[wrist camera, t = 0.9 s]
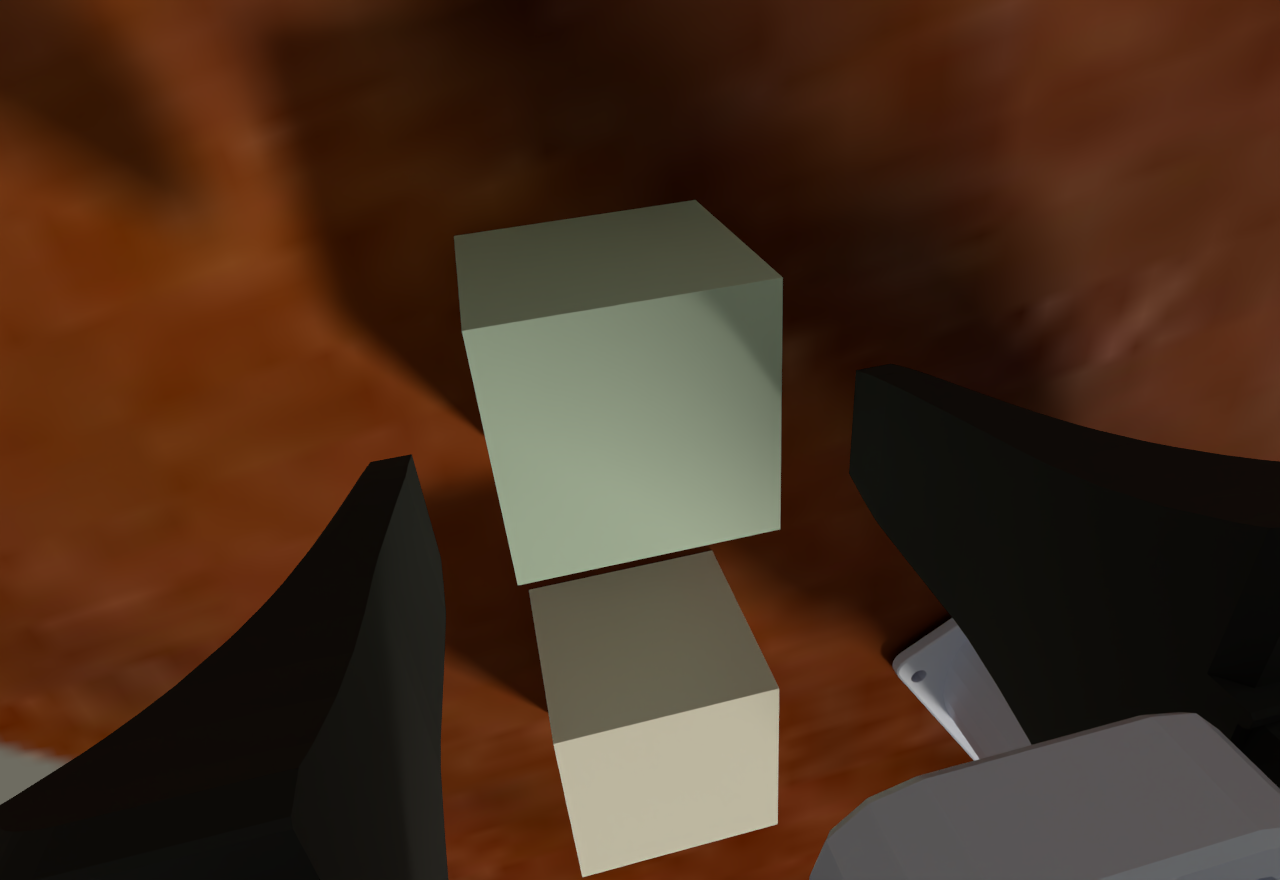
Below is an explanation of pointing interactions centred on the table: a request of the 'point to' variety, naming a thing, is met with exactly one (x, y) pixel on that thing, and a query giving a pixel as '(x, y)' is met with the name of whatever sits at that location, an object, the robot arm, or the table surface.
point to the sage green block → (624, 384)
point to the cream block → (657, 710)
